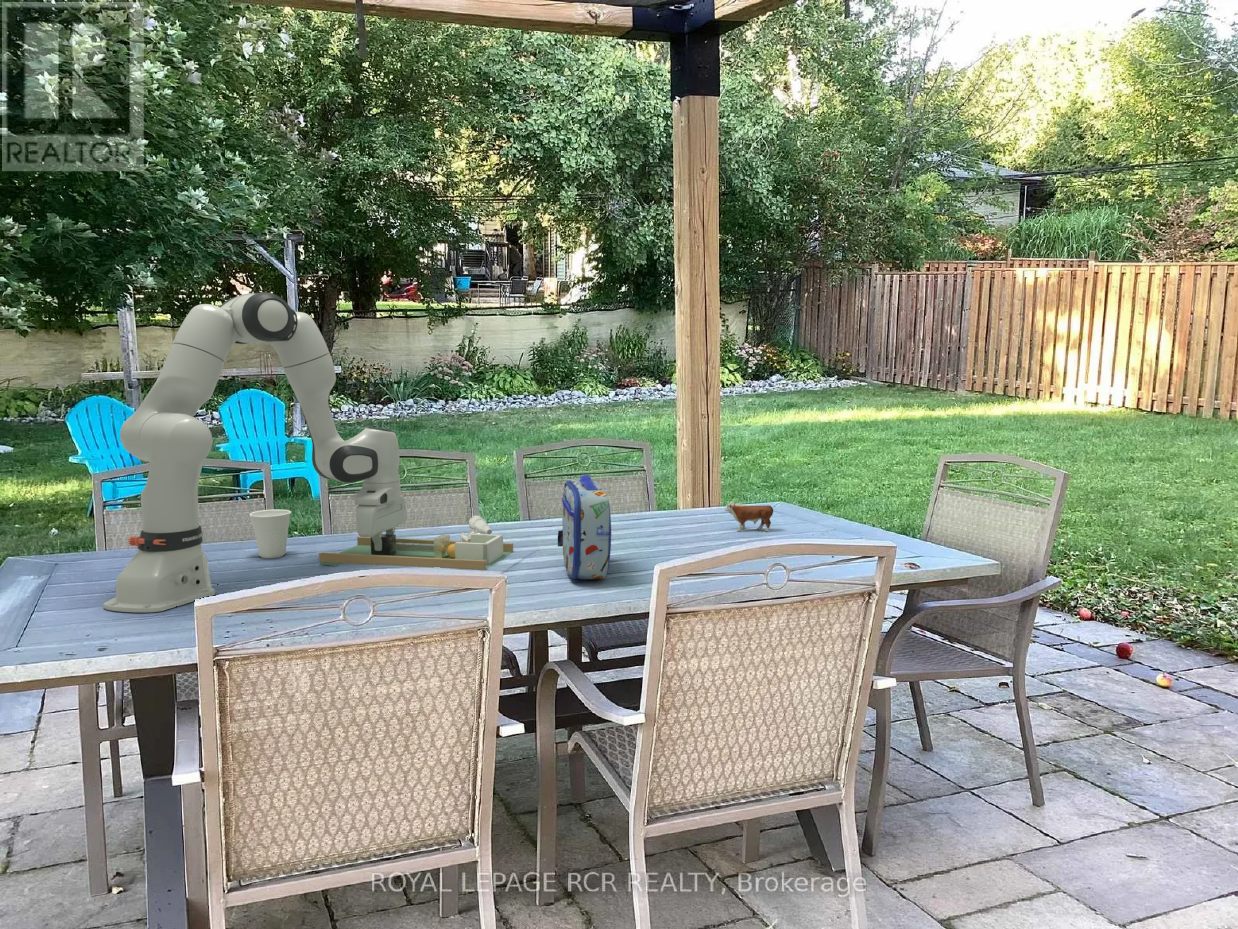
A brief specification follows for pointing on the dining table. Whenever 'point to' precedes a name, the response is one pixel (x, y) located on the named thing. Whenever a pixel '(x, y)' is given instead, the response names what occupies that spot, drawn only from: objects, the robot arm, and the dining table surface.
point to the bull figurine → (750, 514)
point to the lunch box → (585, 529)
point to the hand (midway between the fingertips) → (383, 548)
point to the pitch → (405, 556)
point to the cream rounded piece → (476, 528)
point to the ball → (451, 550)
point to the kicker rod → (412, 546)
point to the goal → (480, 548)
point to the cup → (271, 531)
